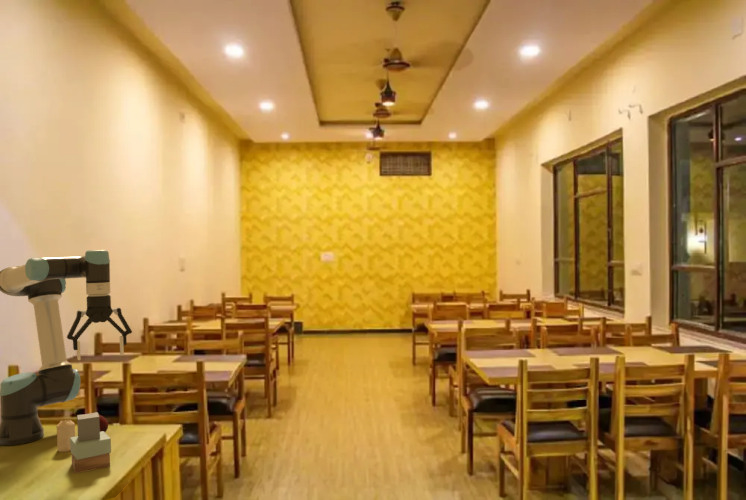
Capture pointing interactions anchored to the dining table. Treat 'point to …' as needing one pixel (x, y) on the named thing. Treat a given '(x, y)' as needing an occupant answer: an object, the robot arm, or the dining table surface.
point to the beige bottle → (65, 435)
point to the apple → (103, 424)
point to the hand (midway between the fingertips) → (100, 357)
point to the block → (88, 427)
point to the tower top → (90, 446)
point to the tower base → (91, 463)
